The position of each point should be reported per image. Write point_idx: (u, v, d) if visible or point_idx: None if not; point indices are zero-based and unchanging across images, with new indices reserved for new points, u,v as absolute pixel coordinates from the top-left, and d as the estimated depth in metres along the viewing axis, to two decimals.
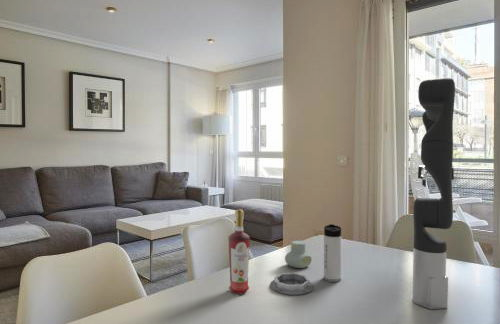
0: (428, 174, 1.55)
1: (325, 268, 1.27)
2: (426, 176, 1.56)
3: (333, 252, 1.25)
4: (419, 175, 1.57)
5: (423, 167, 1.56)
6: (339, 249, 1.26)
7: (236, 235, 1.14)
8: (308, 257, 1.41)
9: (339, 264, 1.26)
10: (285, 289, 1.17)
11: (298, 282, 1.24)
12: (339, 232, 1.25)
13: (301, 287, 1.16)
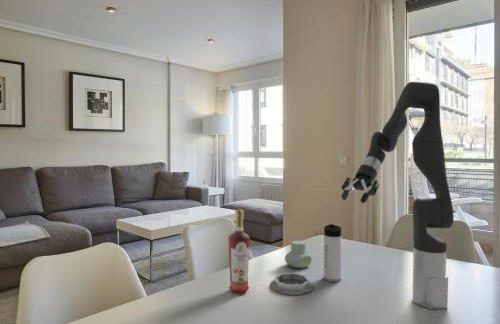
0: (351, 183, 1.40)
1: (325, 268, 1.27)
2: (349, 186, 1.40)
3: (333, 252, 1.25)
4: (343, 185, 1.43)
5: (351, 180, 1.43)
6: (339, 249, 1.26)
7: (236, 235, 1.14)
8: (308, 257, 1.41)
9: (339, 264, 1.26)
10: (285, 289, 1.17)
11: (298, 282, 1.24)
12: (339, 232, 1.25)
13: (301, 287, 1.16)
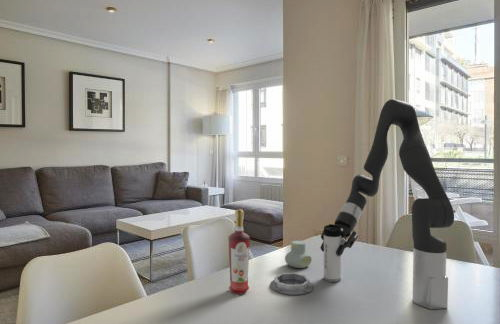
0: None
1: (325, 268, 1.27)
2: None
3: (333, 252, 1.25)
4: (322, 234, 1.33)
5: None
6: None
7: (236, 235, 1.14)
8: (308, 257, 1.41)
9: (339, 264, 1.26)
10: (285, 289, 1.17)
11: (298, 282, 1.24)
12: (339, 232, 1.25)
13: (301, 287, 1.16)
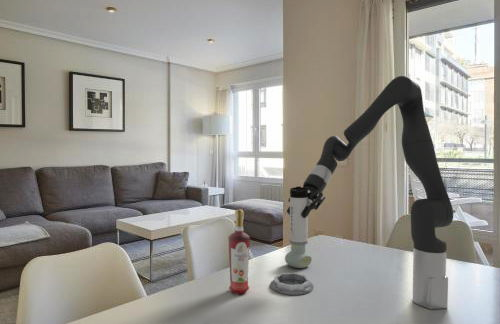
0: None
1: (291, 231, 1.22)
2: None
3: (299, 214, 1.20)
4: None
5: None
6: None
7: (236, 235, 1.14)
8: (308, 257, 1.41)
9: (305, 226, 1.21)
10: (285, 289, 1.17)
11: (298, 282, 1.24)
12: (305, 193, 1.20)
13: (301, 287, 1.16)
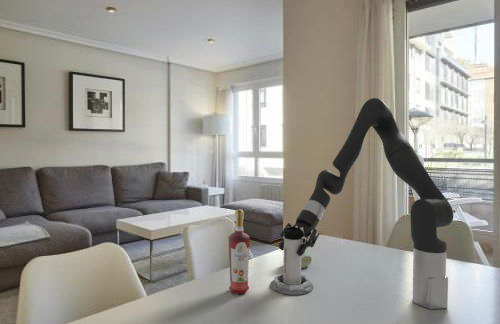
0: None
1: (284, 272, 1.20)
2: None
3: (293, 256, 1.18)
4: (282, 232, 1.27)
5: (292, 226, 1.28)
6: None
7: (236, 235, 1.14)
8: (308, 257, 1.41)
9: (299, 268, 1.19)
10: (285, 289, 1.17)
11: None
12: (299, 235, 1.19)
13: (301, 287, 1.16)
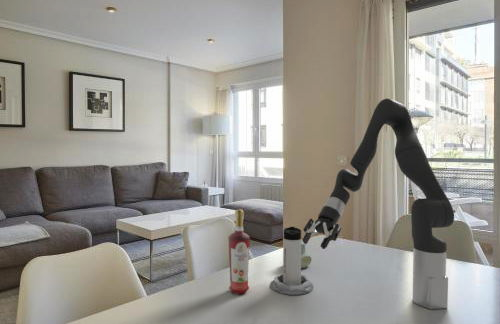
0: (313, 226, 1.33)
1: (284, 273, 1.20)
2: (311, 229, 1.33)
3: (292, 256, 1.18)
4: (305, 227, 1.36)
5: (314, 221, 1.36)
6: (298, 253, 1.19)
7: (236, 235, 1.14)
8: (308, 257, 1.41)
9: (298, 269, 1.19)
10: (285, 289, 1.17)
11: None
12: (298, 235, 1.19)
13: (301, 287, 1.16)
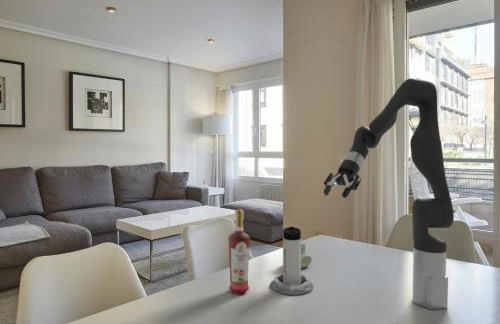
0: (334, 179, 1.37)
1: (284, 273, 1.20)
2: (331, 181, 1.38)
3: (292, 256, 1.18)
4: (326, 180, 1.40)
5: (334, 175, 1.41)
6: (298, 253, 1.19)
7: (236, 235, 1.14)
8: (308, 257, 1.41)
9: (298, 269, 1.19)
10: (285, 289, 1.17)
11: None
12: (298, 235, 1.19)
13: (301, 287, 1.16)
